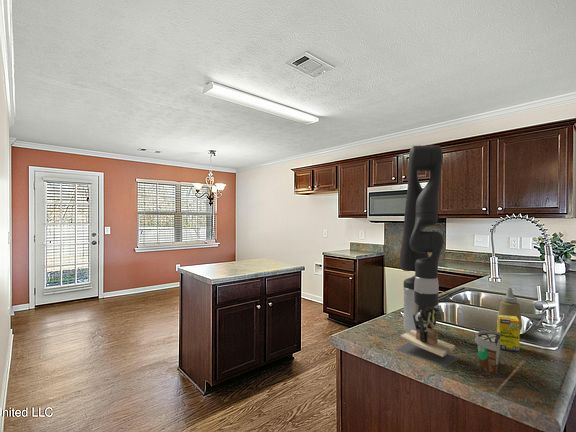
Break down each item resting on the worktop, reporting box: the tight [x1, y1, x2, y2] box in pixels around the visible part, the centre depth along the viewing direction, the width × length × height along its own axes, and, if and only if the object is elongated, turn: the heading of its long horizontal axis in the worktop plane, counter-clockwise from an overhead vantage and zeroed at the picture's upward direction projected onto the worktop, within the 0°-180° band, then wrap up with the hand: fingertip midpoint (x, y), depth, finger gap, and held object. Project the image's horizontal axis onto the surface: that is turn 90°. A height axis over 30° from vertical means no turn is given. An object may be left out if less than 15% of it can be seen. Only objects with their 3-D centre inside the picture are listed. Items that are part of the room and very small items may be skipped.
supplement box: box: [496, 313, 521, 353], centre depth 112 cm, size 6×6×11 cm
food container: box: [474, 330, 501, 376], centre depth 98 cm, size 12×6×10 cm, turn 141°
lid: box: [398, 328, 456, 357], centre depth 107 cm, size 9×15×5 cm, turn 40°
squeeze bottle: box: [498, 287, 523, 331], centre depth 126 cm, size 8×8×18 cm
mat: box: [395, 342, 461, 368], centre depth 107 cm, size 11×17×1 cm, turn 41°
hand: (426, 340), depth 107 cm, fingers closed on lid, 3 cm apart
